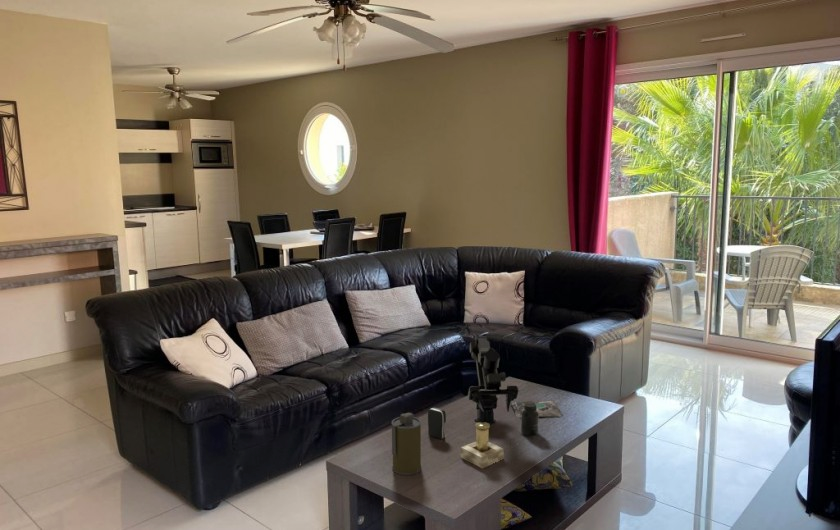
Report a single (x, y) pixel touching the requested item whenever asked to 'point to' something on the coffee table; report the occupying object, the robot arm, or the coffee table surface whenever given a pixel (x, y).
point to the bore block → (482, 454)
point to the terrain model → (538, 408)
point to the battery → (436, 422)
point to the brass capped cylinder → (482, 436)
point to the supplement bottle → (529, 420)
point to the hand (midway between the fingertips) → (496, 411)
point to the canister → (406, 444)
